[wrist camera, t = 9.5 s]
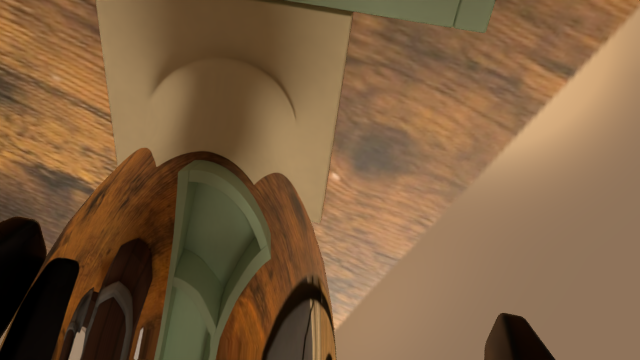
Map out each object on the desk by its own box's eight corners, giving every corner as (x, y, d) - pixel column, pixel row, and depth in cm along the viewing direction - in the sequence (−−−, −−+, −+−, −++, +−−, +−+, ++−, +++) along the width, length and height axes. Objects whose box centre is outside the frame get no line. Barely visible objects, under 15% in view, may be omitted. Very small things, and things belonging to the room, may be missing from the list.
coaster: (353, 11, 19) (352, 16, 19) (322, 216, 25) (320, 224, 24) (99, -31, 20) (91, -28, 19) (125, 179, 26) (119, 185, 25)
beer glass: (112, 157, 22) (-112, 573, 9) (175, 11, 19) (-25, 319, 6) (260, 218, 24) (247, 618, 11) (337, 95, 21) (437, 449, 8)
